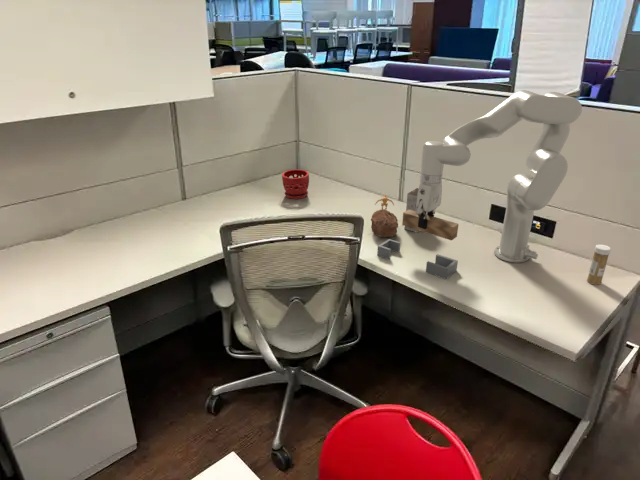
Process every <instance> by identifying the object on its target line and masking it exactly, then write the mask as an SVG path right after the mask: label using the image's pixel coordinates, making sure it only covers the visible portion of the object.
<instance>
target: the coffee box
mask: <svg viewBox="0 0 640 480" xmlns="http://www.w3.org/2000/svg"><path fill="white" fill-rule="evenodd" d="M418 190H419V187H418V188H417V187H416V188H415V189H413V190H412V191H410V192H408V193H407V198H406V206H405V207H406V209H405V211H407V210H412V211H417V208H416V204H417V195H418ZM422 209H424V208H422ZM422 213H424V214H425V212H423V211H422ZM404 230H407V231H410V232H414V233H419V232H420V231H419V230H416V229H413V228H410V227H407V226H404Z"/></svg>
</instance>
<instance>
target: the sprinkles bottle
mask: <svg viewBox="0 0 640 480" xmlns="http://www.w3.org/2000/svg"><path fill="white" fill-rule="evenodd" d="M611 251H612V248H611V247H610V246H609V245H605V244H602V243H601V244H596V245H595V247H594V253H593V256H592V260H591V264H590V267H589V269H588V270H589V271H588V275H587V276H588V277H587V278H586V281H587V283H589V284H591V285H593V286H596V285H597V286H599V285H601V284H602V281H603V277H604V274H605V270H606V267H607V262H608V258H609V255H610V254H611Z"/></svg>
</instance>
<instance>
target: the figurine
mask: <svg viewBox="0 0 640 480" xmlns="http://www.w3.org/2000/svg"><path fill="white" fill-rule="evenodd" d="M378 202H381V204H380V205H381V209H384V207H385V210H387V207H388V206H389V205H388V202H391V203H392V206H395V203H394V202H393V200H391V199H389V198H388V197H387V195H386V194H384V195H383V197H382V198H380V199H378V200H377V201H375V204H374V205H375V206H376V205H377V204H378Z"/></svg>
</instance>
